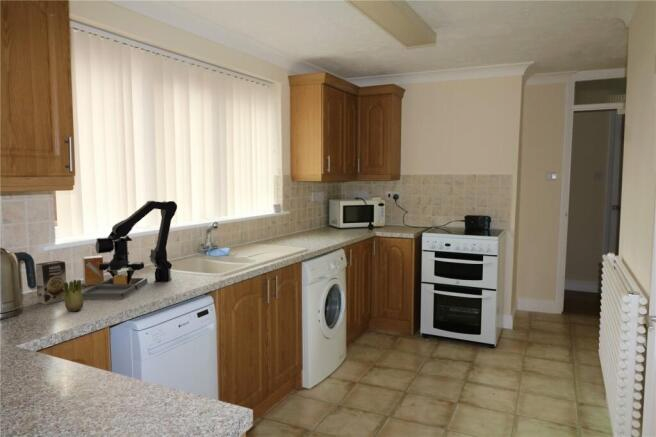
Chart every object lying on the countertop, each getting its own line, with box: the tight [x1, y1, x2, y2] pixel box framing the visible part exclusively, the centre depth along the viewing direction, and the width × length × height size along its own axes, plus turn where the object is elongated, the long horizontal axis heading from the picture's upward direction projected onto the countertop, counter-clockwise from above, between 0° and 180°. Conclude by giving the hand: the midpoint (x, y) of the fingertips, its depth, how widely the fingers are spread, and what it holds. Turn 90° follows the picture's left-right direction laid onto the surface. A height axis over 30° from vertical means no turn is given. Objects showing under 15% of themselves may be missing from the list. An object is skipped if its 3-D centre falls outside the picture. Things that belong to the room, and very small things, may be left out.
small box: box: [82, 254, 105, 287], centre depth 224 cm, size 8×6×13 cm
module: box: [114, 272, 132, 284], centre depth 219 cm, size 5×7×6 cm
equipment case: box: [95, 277, 149, 291], centre depth 219 cm, size 18×14×2 cm
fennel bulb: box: [64, 279, 84, 312], centre depth 181 cm, size 6×5×12 cm
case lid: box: [81, 285, 137, 300], centre depth 205 cm, size 18×15×2 cm
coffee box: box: [35, 260, 67, 305], centre depth 194 cm, size 9×6×16 cm
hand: (122, 284), depth 219 cm, fingers closed on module, 5 cm apart
